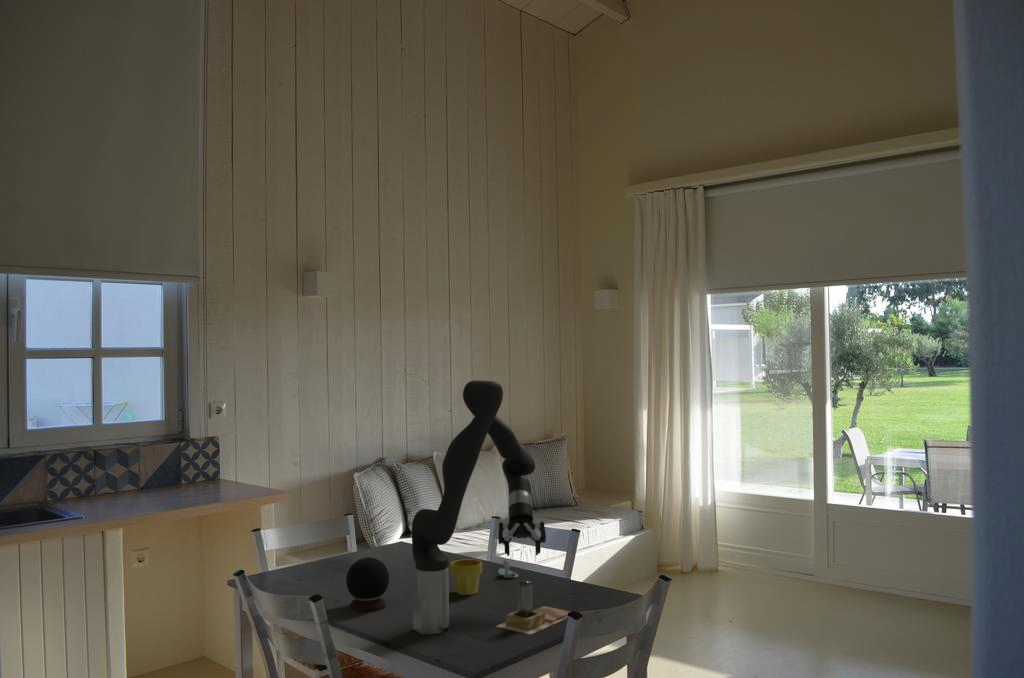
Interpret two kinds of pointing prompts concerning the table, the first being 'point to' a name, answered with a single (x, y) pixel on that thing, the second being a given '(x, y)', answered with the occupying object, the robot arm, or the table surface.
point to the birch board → (534, 620)
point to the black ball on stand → (367, 584)
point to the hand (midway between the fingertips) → (522, 554)
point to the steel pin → (525, 598)
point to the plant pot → (466, 575)
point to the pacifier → (507, 571)
